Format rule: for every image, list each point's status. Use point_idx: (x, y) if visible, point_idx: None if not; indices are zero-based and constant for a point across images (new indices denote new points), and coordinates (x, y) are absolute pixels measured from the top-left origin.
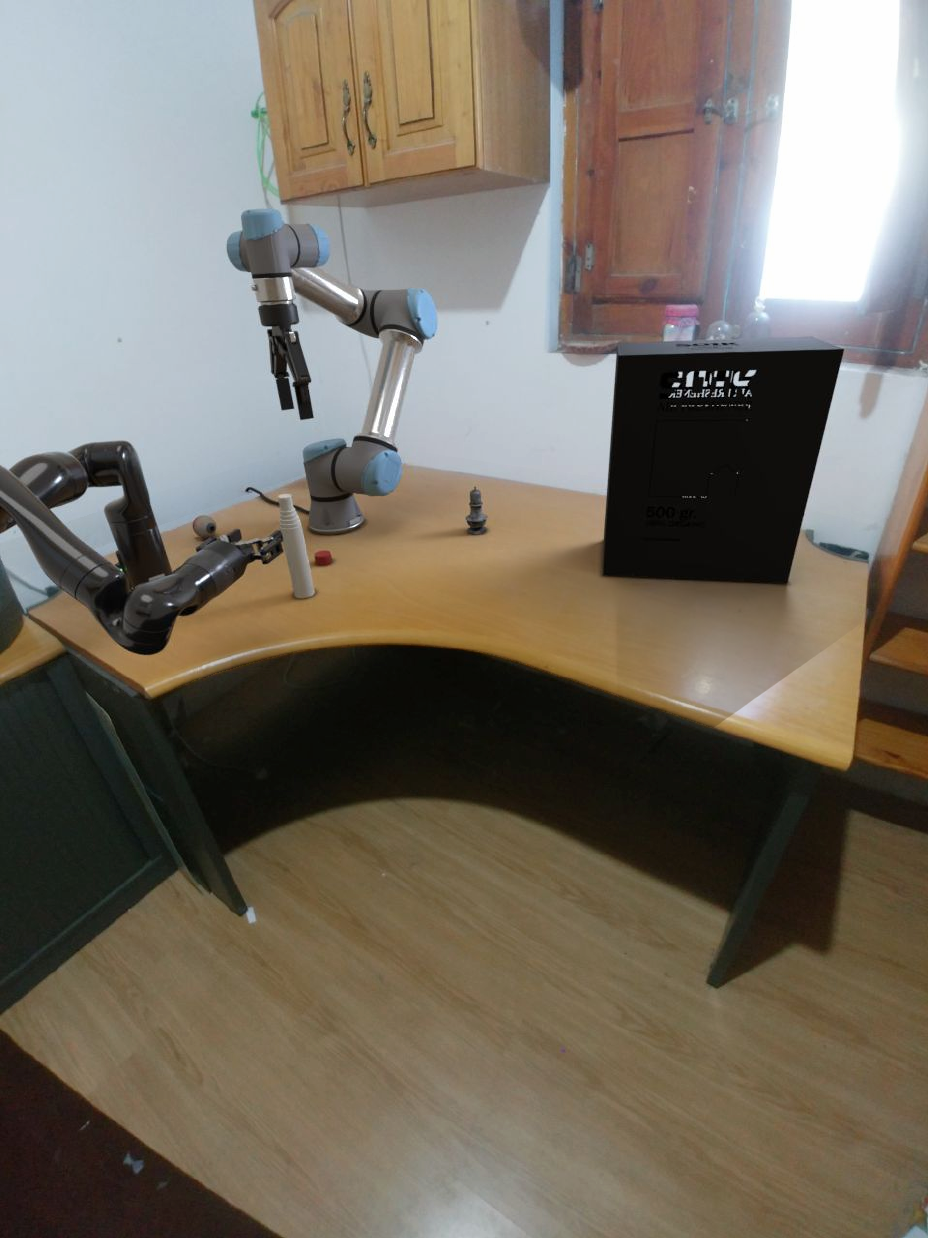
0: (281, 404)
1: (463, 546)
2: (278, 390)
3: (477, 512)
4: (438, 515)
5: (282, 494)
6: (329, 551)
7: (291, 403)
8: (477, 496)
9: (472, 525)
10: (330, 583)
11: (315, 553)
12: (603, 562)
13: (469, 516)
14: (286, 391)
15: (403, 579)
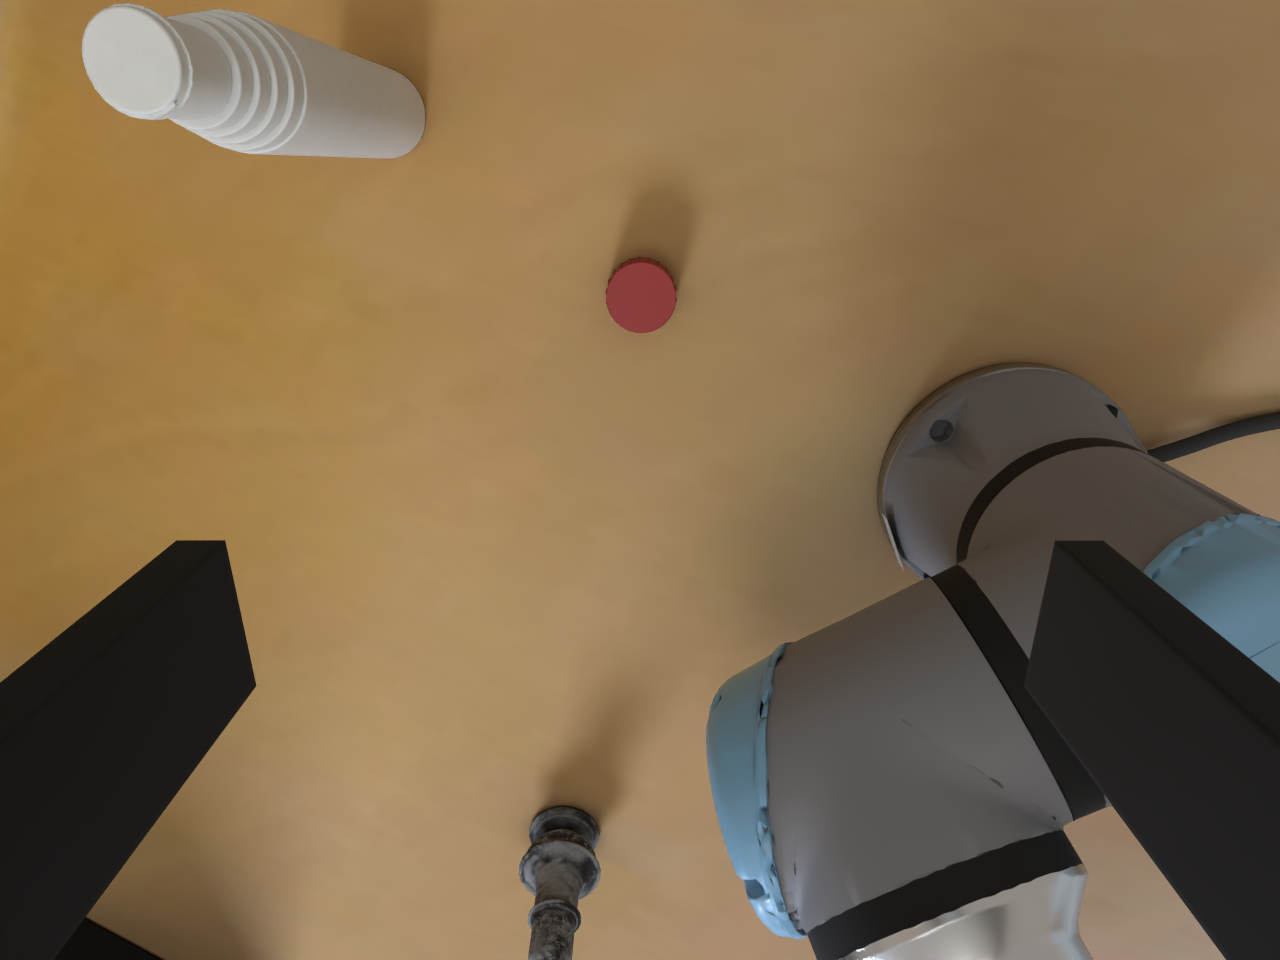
0: (1100, 582)
1: (468, 745)
2: (1254, 715)
3: (537, 890)
4: None
5: (166, 56)
6: (644, 332)
7: (1065, 710)
8: (529, 948)
9: (541, 836)
10: (426, 242)
11: (661, 272)
12: (69, 946)
13: (563, 860)
14: (1184, 809)
15: (318, 481)
